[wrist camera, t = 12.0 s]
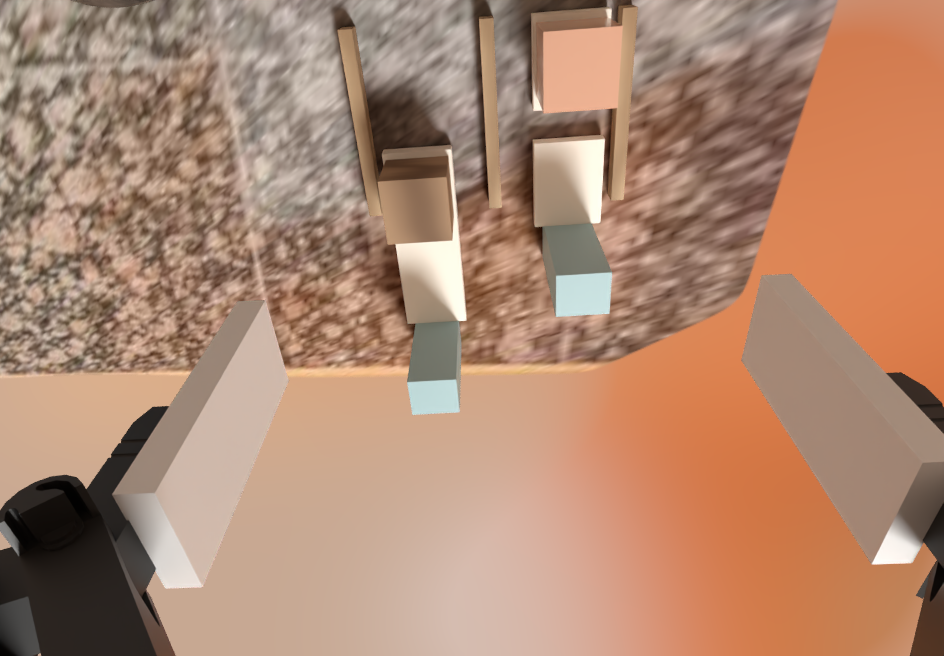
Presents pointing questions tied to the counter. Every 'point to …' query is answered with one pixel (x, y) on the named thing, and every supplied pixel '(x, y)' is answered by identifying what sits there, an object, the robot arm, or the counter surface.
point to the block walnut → (417, 200)
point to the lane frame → (489, 110)
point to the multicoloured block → (433, 306)
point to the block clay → (578, 64)
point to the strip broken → (570, 204)
